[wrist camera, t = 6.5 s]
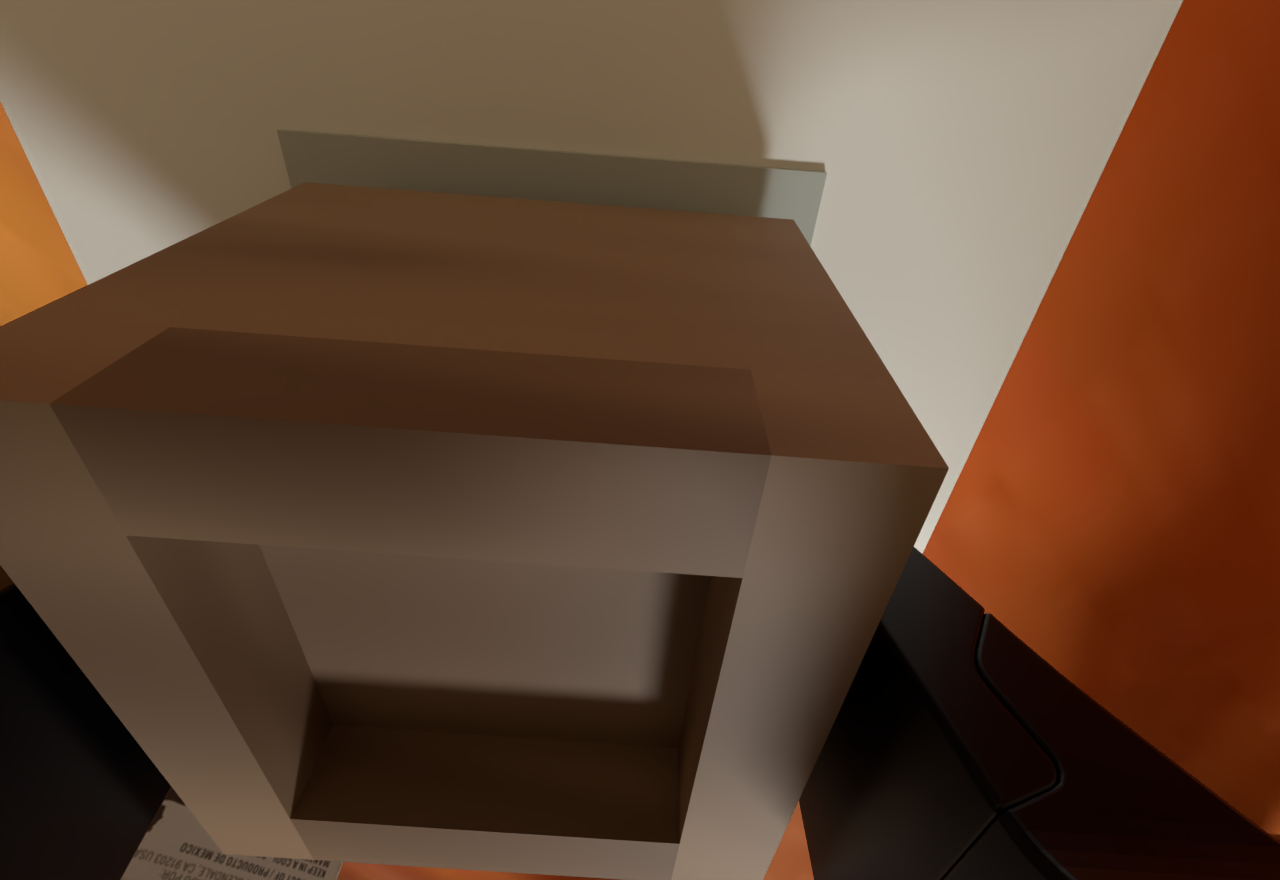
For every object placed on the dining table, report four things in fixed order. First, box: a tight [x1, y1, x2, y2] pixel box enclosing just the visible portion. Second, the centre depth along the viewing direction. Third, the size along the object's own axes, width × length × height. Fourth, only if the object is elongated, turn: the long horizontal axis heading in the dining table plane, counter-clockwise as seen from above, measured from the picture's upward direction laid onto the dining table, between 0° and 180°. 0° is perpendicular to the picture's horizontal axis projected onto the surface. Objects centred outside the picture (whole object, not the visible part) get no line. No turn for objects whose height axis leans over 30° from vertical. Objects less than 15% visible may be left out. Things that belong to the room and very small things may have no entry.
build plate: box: [0, 0, 1183, 553], centre depth 10 cm, size 20×14×1 cm
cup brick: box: [0, 182, 949, 880], centre depth 7 cm, size 6×6×5 cm
